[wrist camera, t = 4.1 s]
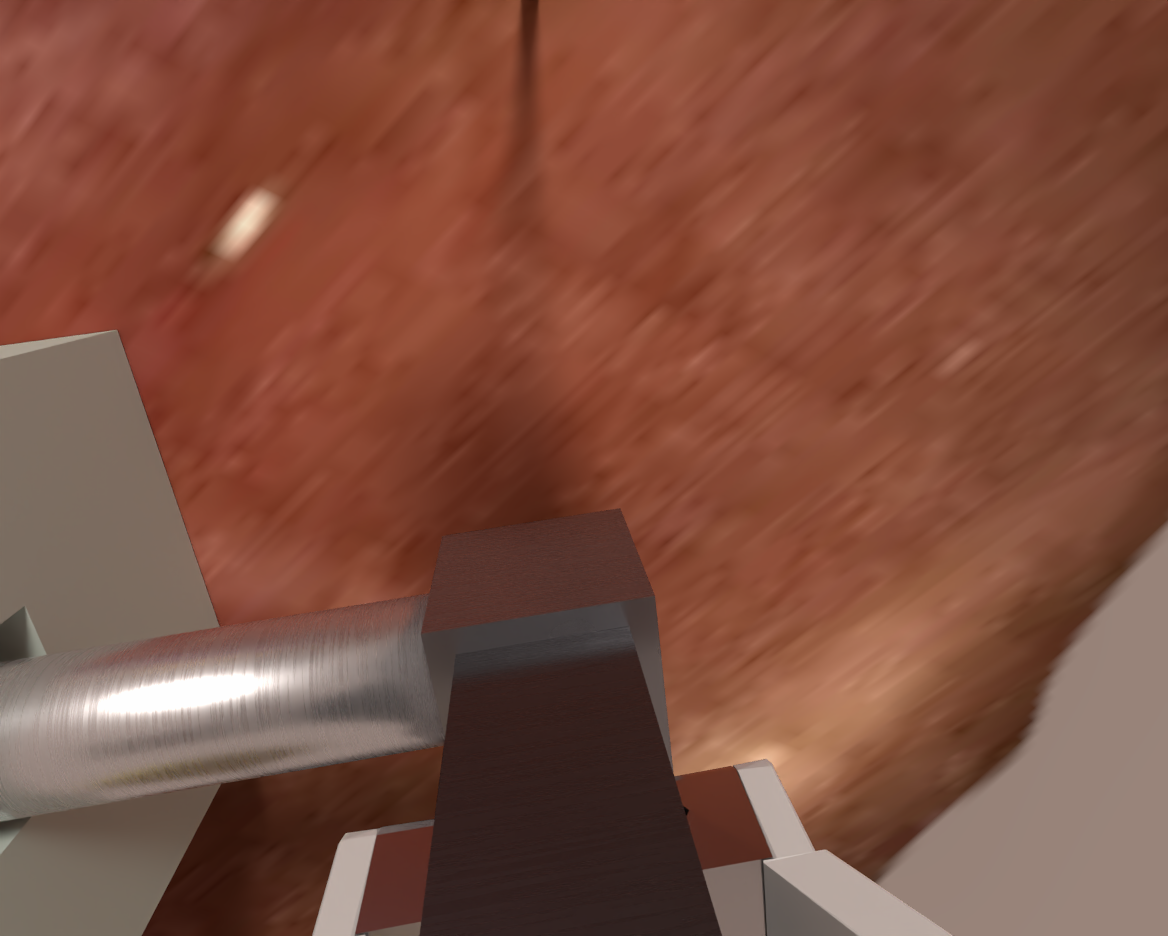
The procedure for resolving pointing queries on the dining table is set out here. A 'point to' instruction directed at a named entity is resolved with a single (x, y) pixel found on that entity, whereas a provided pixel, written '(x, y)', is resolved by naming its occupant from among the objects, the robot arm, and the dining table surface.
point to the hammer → (416, 727)
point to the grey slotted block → (89, 616)
